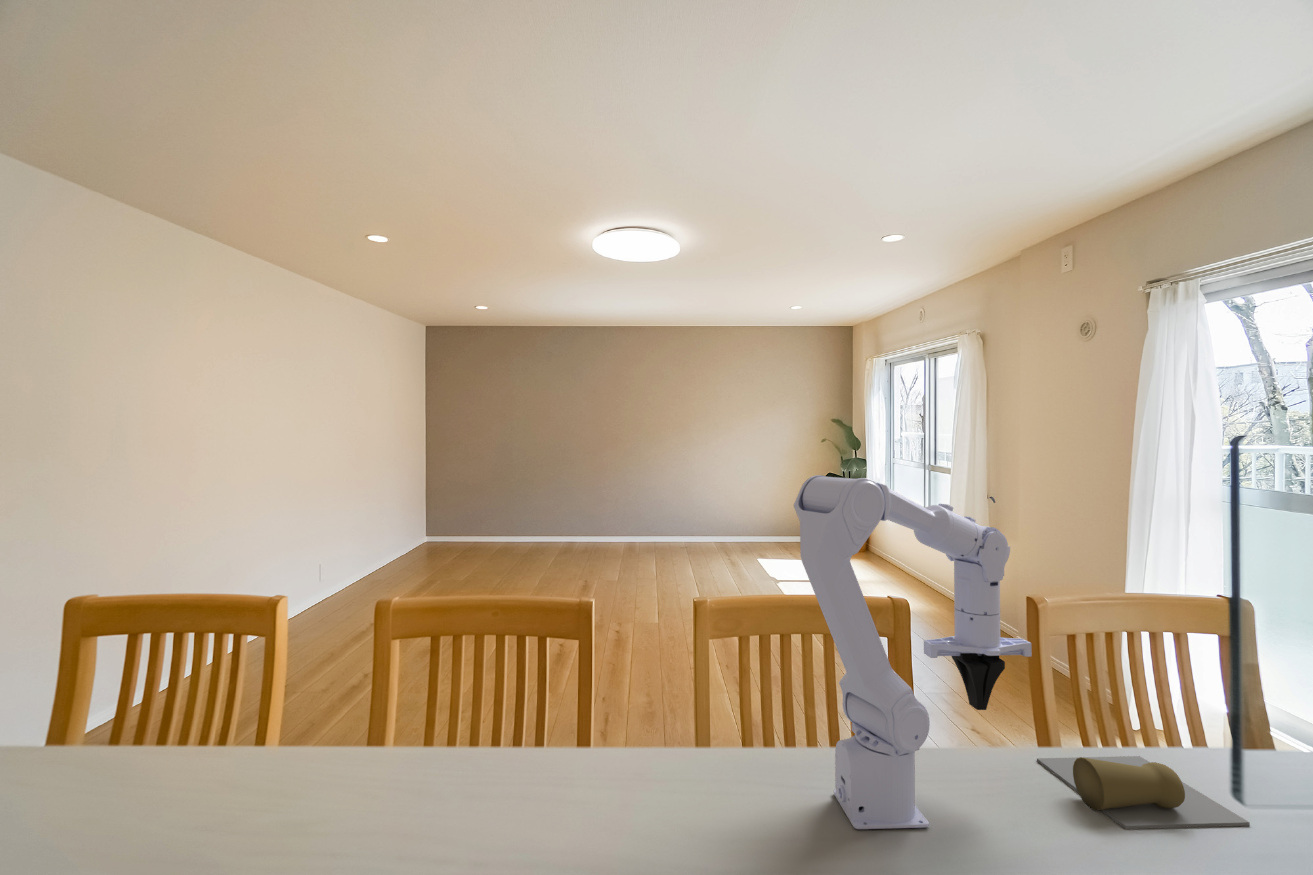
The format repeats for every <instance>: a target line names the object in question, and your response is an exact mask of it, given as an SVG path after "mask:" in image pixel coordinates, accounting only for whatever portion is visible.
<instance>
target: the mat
mask: <svg viewBox="0 0 1313 875" xmlns="http://www.w3.org/2000/svg"><path fill="white" fill-rule="evenodd" d="M1079 757H1080V756H1078V757H1076V756H1075V757H1042V758H1041V757H1039V758H1036V762H1037V763H1039V764H1040V765H1041V766H1042V767H1044V768H1046V769H1047V770H1048V771H1049V772H1050V773H1051V774H1053V776H1056V777H1058V779H1060V780H1061V781H1062V782H1064V783H1065V784H1067V785H1068V786H1069V787H1070V788H1071V789H1073V790H1074V791H1075V792H1077V793H1078V791H1077V788H1076V785H1075V783H1074V777H1073V765H1074V761H1075V760H1076V759H1077V758H1079ZM1083 758H1090V759H1096V760H1102V761H1109V762H1115V763H1121V764H1127V765H1134V766H1140V767H1141V766H1142V765H1143V764H1146V763H1150V761H1148V760H1147V759H1145V758H1144V757H1142V756H1140V755H1131V756H1129V755H1128V756H1089V757H1087V756H1083ZM1181 782H1182V784H1183V786H1184V790H1185V799H1184V802H1183V803H1182V804H1181V805H1180V806H1179V807H1176V808H1171V809H1170V808H1163V807H1160V806H1157V805H1155V804H1153V803H1150V804H1142V805H1134V806H1126V807H1118V808H1110V809H1102V810H1100V811H1101V812H1103V813H1104V814H1106V816H1108V817H1109V818H1110V819H1112V820H1113V821H1115V822H1116V823H1117V824H1118V825H1120V826H1121V827H1122V828H1124V829H1125V830H1139V829H1140V830H1141V829H1175V828H1179V829H1180V828H1208V827H1209V828H1212V827H1243V826H1244V827H1246V826H1248V827H1249V826H1250V825H1251V823H1250V821H1248V820H1246V819H1245V818H1243V817H1241V816H1240V815H1238V814H1237V813H1236V812H1233V811H1232V810H1230V809H1228V808H1226V807H1225V806H1223V805H1222V804H1220V803H1219V802H1216V801H1215V800H1214V799H1212V798H1210V797H1208V796H1207V795H1205V794H1204V793H1202V792H1200V791H1198V790H1197V789H1195V788H1194V787H1192V786H1190V785H1188V784H1187V783H1185V782H1184V781H1182V780H1181Z"/></svg>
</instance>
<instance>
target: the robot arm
mask: <svg viewBox="0 0 1313 875" xmlns="http://www.w3.org/2000/svg"><path fill="white" fill-rule="evenodd" d="M793 508H794V511H795V513H796V515H797V517H798V520H799V533H800V534H799V538H800V539H799V541H800V546H799V548H800V550H799V551H800V560H801V562H802V566H803V568H804V570H805V572H806V576H807V578H808V579H809V583H810V584H811V587H812V590H813V592H814V595H815V597H816V599H817V602H818V603H817V604H818V605H819V607H820V610H821V613H822V615H823V617H824V619H825V623H826V624H827V627H828V629H829V630H828V631H829V632H830V635H831V637H832V639H833V642H834V645H835V647H836V650H837V653H838V655H839V657H840V660H841V662H842V665H843V667H844V669H845V673H844V675H843V676H842V677H841V679H840V680H839V682H838V684H839V686H840V689H841V694H842V709H843V713H844V715H845V718H847V720H848V721H850V722H851V731H852V732H853V733H854V735H852V736H851V737H848V738H844V739H841V740H838V741H837V742H836V745H835V750H834V760H835V762H834V764H835V766H834V768H835V769H834V770H835V771H834V772H835V774H834V775H835V780H834V781H835V783H834V785H835V786H834V787H835V789H834V790H833V795H834V796H835V797H836V800H837V801H838V803H839V806H840V807H841V808H842V811H843V812H844V813H845V815H846V817H847V819H848V820H849V822H850V823H851V825H852V827H853V828H854V829H856V830H869V829H870V830H872V829H873V830H875V829H876V830H877V829H880V830H881V829H884V830H885V829H910V828H911V829H913V828H914V829H916V828H917V829H919V828H929V827H930V822H929V821H928V819H927V818H926V817H925V816H924V814H923V813H922V812H921V810H920V809H919V808H918V806H917V805H916V752H918V751H919V750H920V748H921V747H922V746H923V745H924V743H925V742H926V740H927V738H928V736H929V731H930V726H931V725H930V724H931V723H930V716H929V713H928V710H927V708H926V706H925V705H923V704H922V703H921V702H920V701H918V699H917V698H916V696H915V693H914V692H913V689H912V688H911V686H910V685H909V684H908V683H907V682H906V681H905V679H903V678H901V676H899V674H898V673H896V672H895V670H894V669H893V668H892V666H891V663H890V661H889V658H888V656H887V654H886V650H885V648H884V646H883V643H882V640H881V637H880V635H879V633H878V629H877V628H876V624H875V621H874V620H873V617H872V614H871V612H870V609H869V607H868V604H867V602H866V598H865V597H864V594H863V591H862V589H861V586H860V584H859V581H858V578H857V575H856V574H855V571H854V568H853V566H852V563H851V559H852V556H854V555H856V554H858V553H859V552H860V550H861V548H862V547H863V546H864V545H865V543H866V542H867V540H868V539H869V537H870V536H871V535H872V533H873V532H874V530H875V529H876V527H877V526H878V525H879V523H880V522H881V521H882V522H885V521H889V522H892V523H895V524H898V525H900V526H902V527H905V528H907V529H910V530H913V533H914V536H915V538H916V540H917V541H918V542H919V543H921V544H922V545H924V546H927V547H928V548H932V549H933V550H935V551H938V552H941V553H943V554H945V555H946V557H947V559H948V560H949V561H950V562H953V567H954V568H953V582H954V583H953V584H954V586H953V590H954V594H953V595H954V596H953V597H954V598H953V600H954V602H953V603H954V607H953V608H954V612H953V614H954V615H953V616H954V617H953V618H954V635H951V636H946V637H941V638H934V639H932V638H931V639H924V640H923V654H924V655H925V656H927V657H929V658H931V659H937V658H938V657H951V658H952V661H953V662H954V663H955V666H956V668H957V669H958V672H959V673H960V676H961V679H962V681H963V685H964V687H965V692H966V695H967V699H968V704H969V705H970V706H971V707H972V708H974V709H975V710H976V711H987V709H988V705H989V702H990V698H991V695H992V692H993V689H994V686H995V685H996V683H997V681H998V679H999V677H1000V675H1001V674H1002V673H1003V672H1004V671H1005V668H1006V662H1005V661H1004V660H1003V659H1002V658H1000V656H1022V657H1032V654H1033V653H1032V651H1033V650H1032V642H1030V641H1028V640H1025V639H1024V638H1011V637H1001V581H1003V580H1004V577H1005V568H1006V564H1007V562H1008V559H1009V557H1010V553H1011V546H1009V544H1008V543H1009V542H1008V540H1007V538H1006V536H1005V535H1004V534H1003V533H1002V532H1001V531H1000V530H999V529H998V528H996V527H991V526H985V525H980V524H978V523H976V519H975V518H974V517H972V516H966V515H965V516H963V515H960V514H958V513H957V512H954V507H953V506H951V504H947V503H938V505H937V504H931V505H928V506H926V507H924V506H922V505H921V504H919V503H917V502H915V501H913V500H911V499H910V498H908V497H906V496H904V495H902V494H900V493H898V492H897V491H895V490H893V489H891V488H890V487H889V486H888V485H887V484H885V483H880V482H876V481H875V480H873V479H871V478H866V477H860V478H849V477H836V476H834V477H833V476H825V475H822V474H817V475H812V476H810V477H809V478H808V479H806V480H805V481H804V483H802V485H801V487H800V489H799V491H798V494H797V496H796V498H795V501H794V503H793Z"/></svg>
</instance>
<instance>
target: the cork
mask: <svg viewBox="0 0 1313 875" xmlns="http://www.w3.org/2000/svg"><path fill="white" fill-rule="evenodd" d="M1078 757H1079V758H1077V759H1076V760H1075V761H1074V765H1073V777H1074V783H1075V785H1076V788H1077V791H1078V792H1077V791H1076V792H1077V793H1078V796H1079V797H1080V798H1081V800H1082V802H1084V804H1085V805H1086V806H1087V807H1088V808H1089V809H1091V810H1094V811H1101V810H1102V809H1110V808H1118V807H1126V806H1134V805H1142V804H1150V803H1153V804H1155V805H1157V806H1160V807H1163V808H1170V809H1171V808H1176V807H1179V806H1180V805H1181V804H1182V803H1183V802H1184V799H1185V790H1184V786H1183V784H1182V782H1183V781H1182V779H1181V778H1180V776H1179V775H1178V774H1177V772H1175V771H1174V769H1172V768H1171V767H1169V765H1168V766H1167V765H1166V764H1163V763H1160V762H1156V761H1155V762H1150V761H1149V762H1150V763H1146V764H1143V765H1142V766H1141V767H1140V766H1134V765H1127V764H1121V763H1115V762H1109V761H1102V760H1096V759H1090V758H1083V757H1084V756H1083V757H1082V756H1081V757H1080V756H1078ZM1181 781H1182V782H1181Z"/></svg>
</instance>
